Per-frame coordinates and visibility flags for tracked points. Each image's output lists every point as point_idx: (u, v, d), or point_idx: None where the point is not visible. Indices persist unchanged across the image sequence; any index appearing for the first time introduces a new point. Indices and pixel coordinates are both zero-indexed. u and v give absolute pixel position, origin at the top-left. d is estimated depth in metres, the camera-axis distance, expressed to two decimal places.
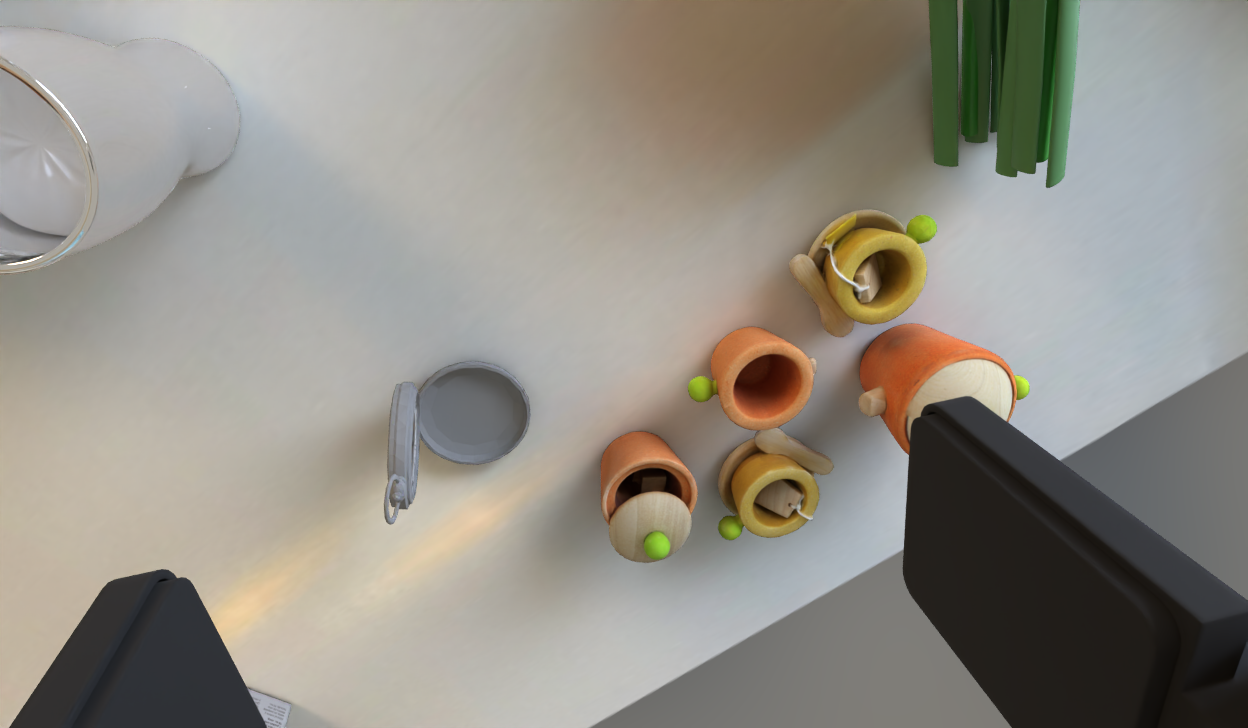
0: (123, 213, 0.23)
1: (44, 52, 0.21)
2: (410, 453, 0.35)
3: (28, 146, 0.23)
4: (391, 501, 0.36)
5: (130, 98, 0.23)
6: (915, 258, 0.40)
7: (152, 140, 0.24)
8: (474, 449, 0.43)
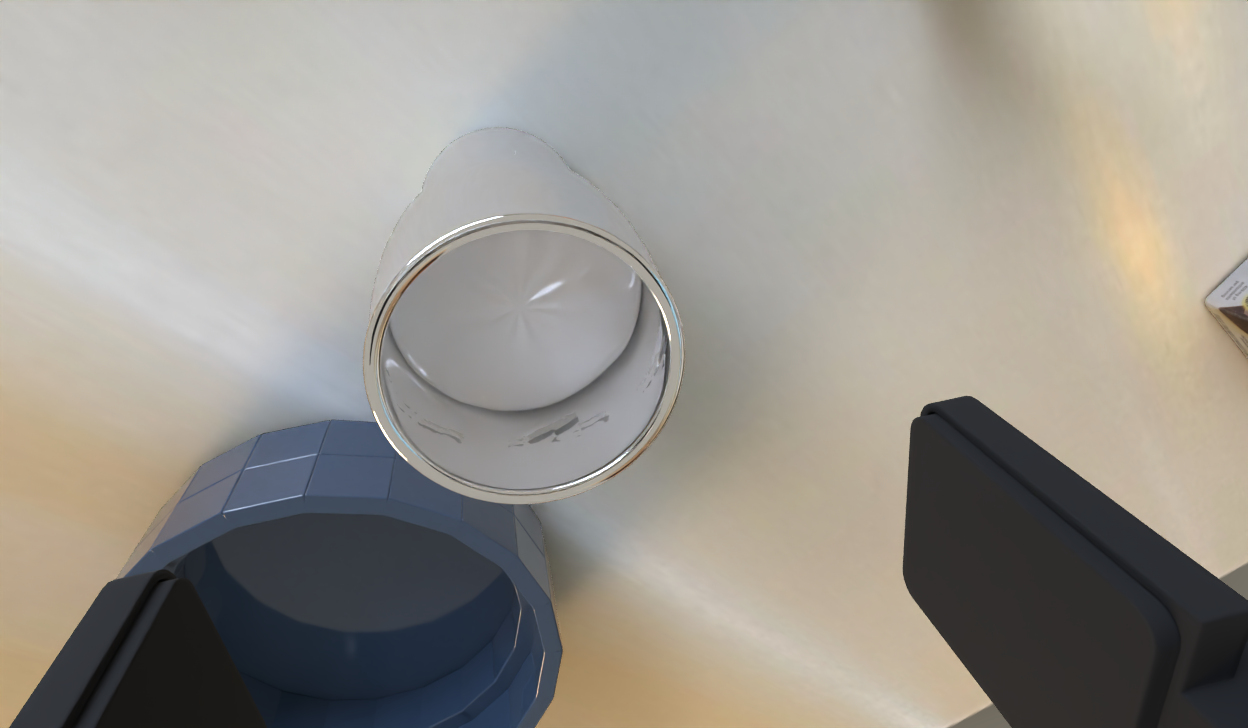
0: (608, 213, 0.16)
1: (386, 262, 0.15)
2: None
3: (525, 319, 0.18)
4: None
5: (450, 183, 0.16)
6: None
7: (508, 168, 0.16)
8: None
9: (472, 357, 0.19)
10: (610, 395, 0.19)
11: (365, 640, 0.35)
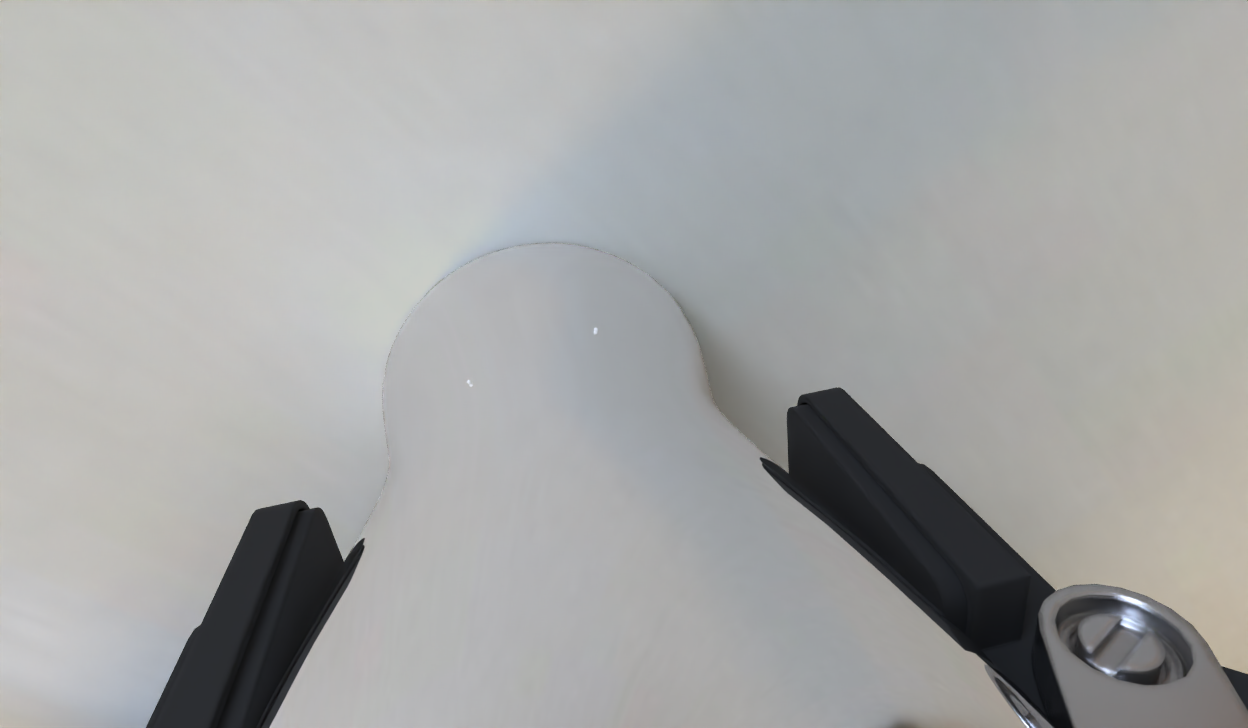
0: None
1: None
2: None
3: None
4: None
5: None
6: None
7: None
8: None
9: None
10: None
11: None
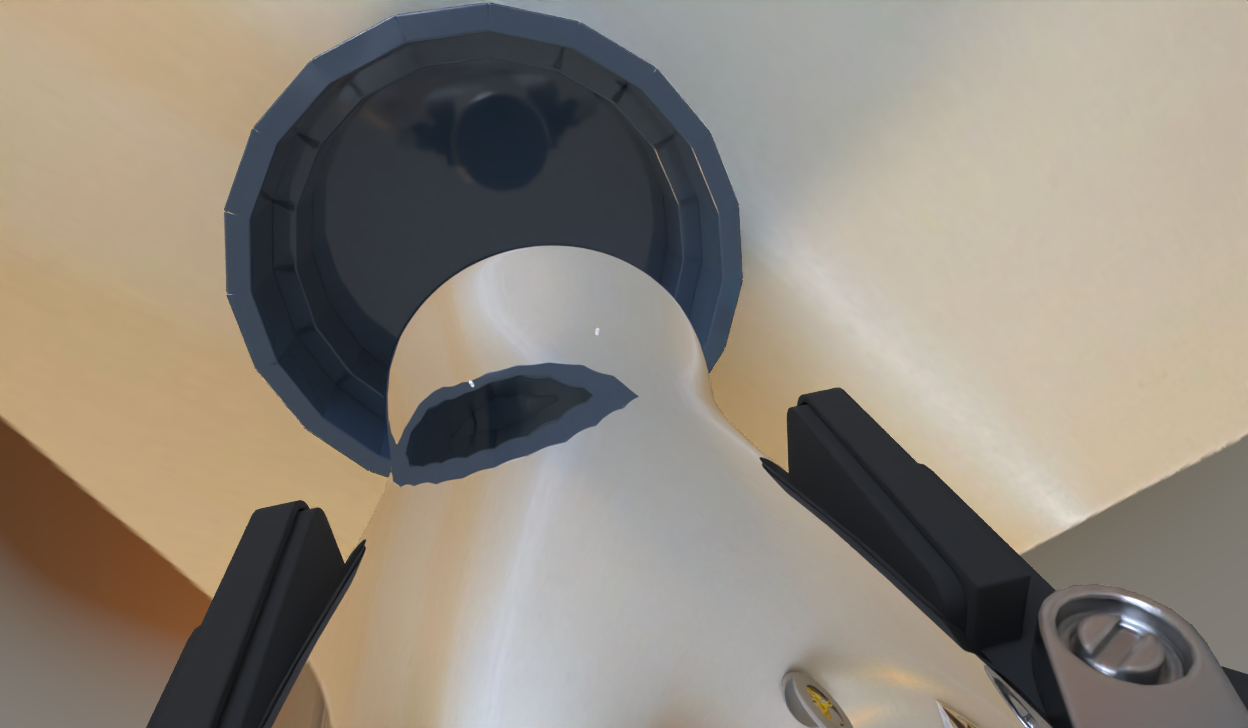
0: None
1: None
2: None
3: None
4: None
5: None
6: None
7: None
8: None
9: None
10: None
11: None
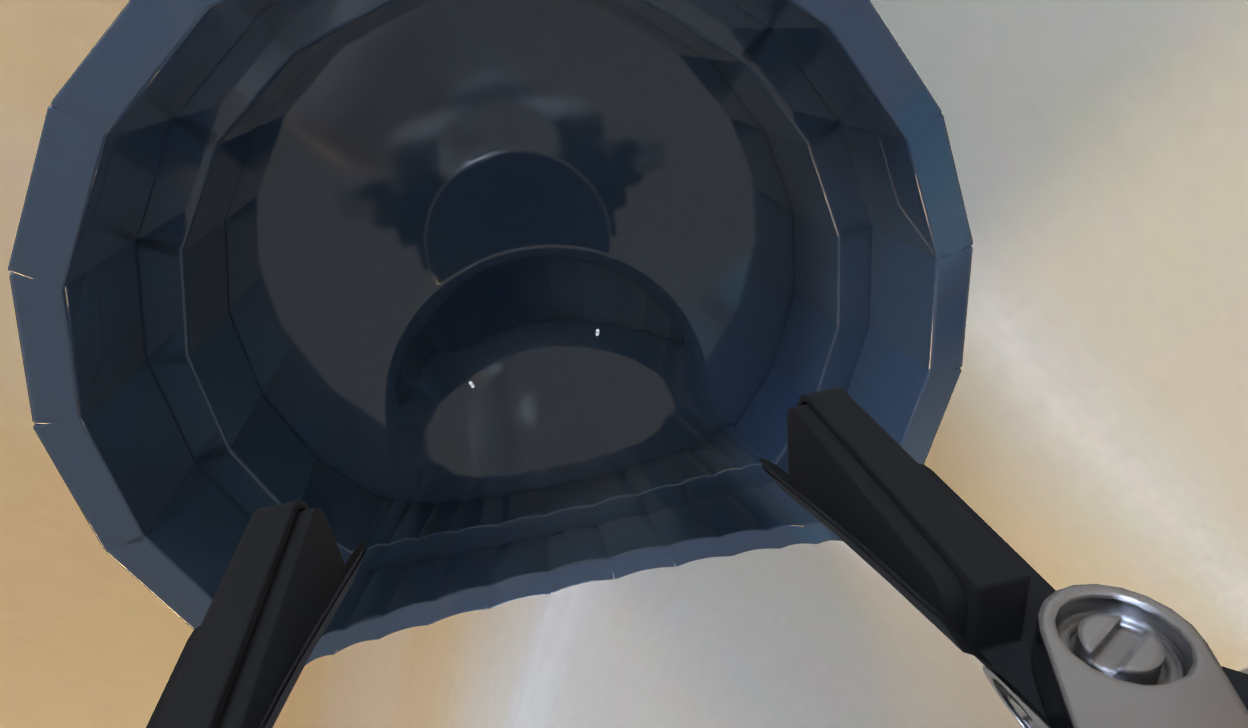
0: None
1: None
2: None
3: None
4: None
5: None
6: None
7: None
8: None
9: None
10: None
11: None
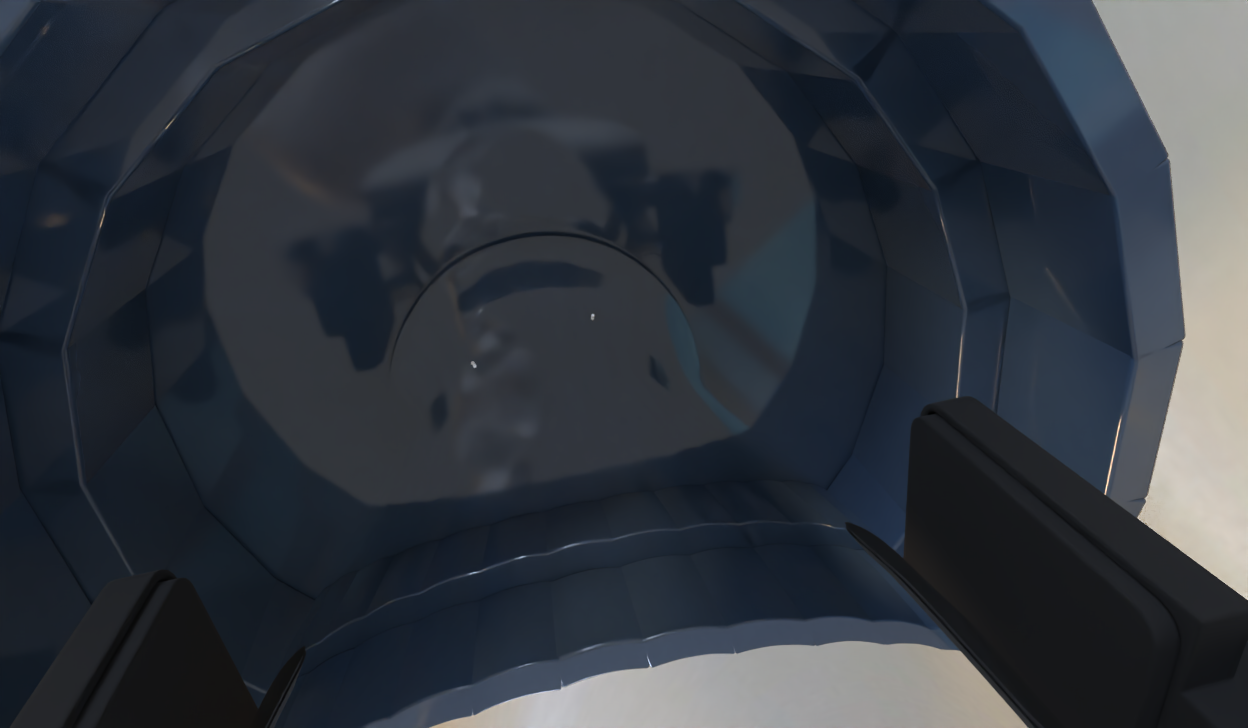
0: None
1: None
2: None
3: None
4: None
5: None
6: None
7: None
8: None
9: None
10: None
11: None
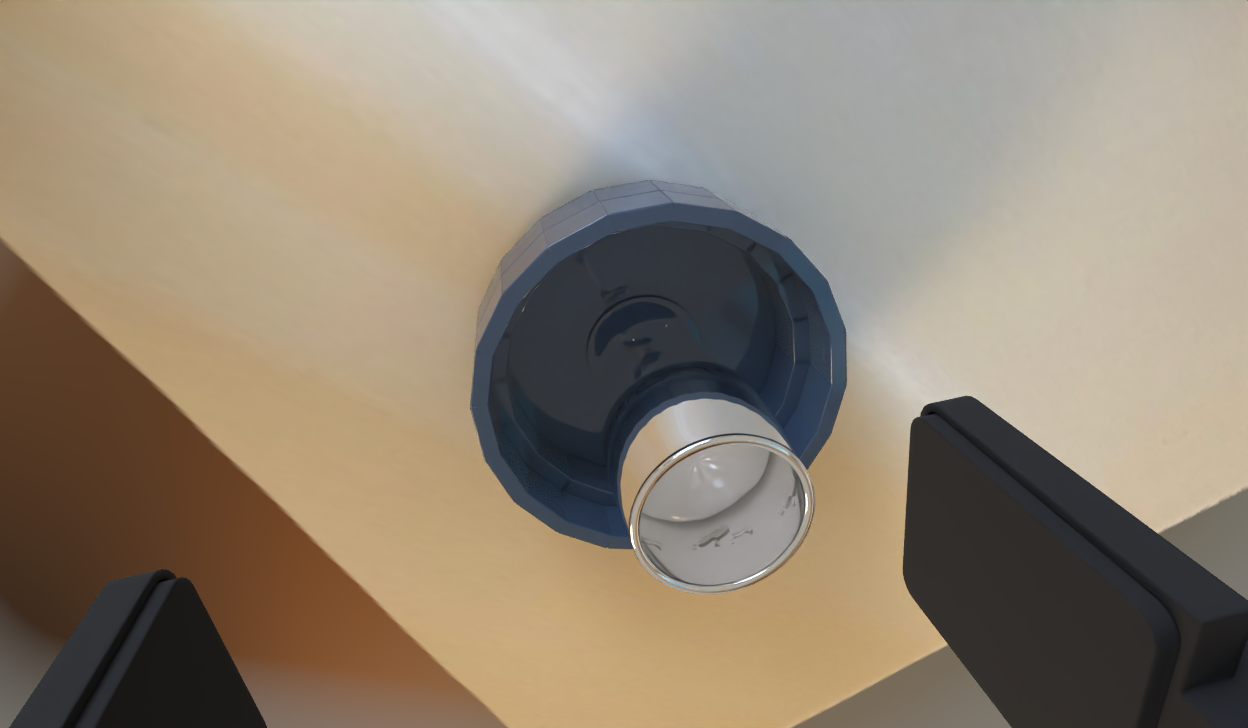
0: (765, 416, 0.25)
1: (634, 450, 0.25)
2: None
3: (698, 467, 0.28)
4: None
5: (663, 393, 0.26)
6: None
7: (698, 382, 0.26)
8: None
9: (663, 490, 0.28)
10: (751, 514, 0.29)
11: None
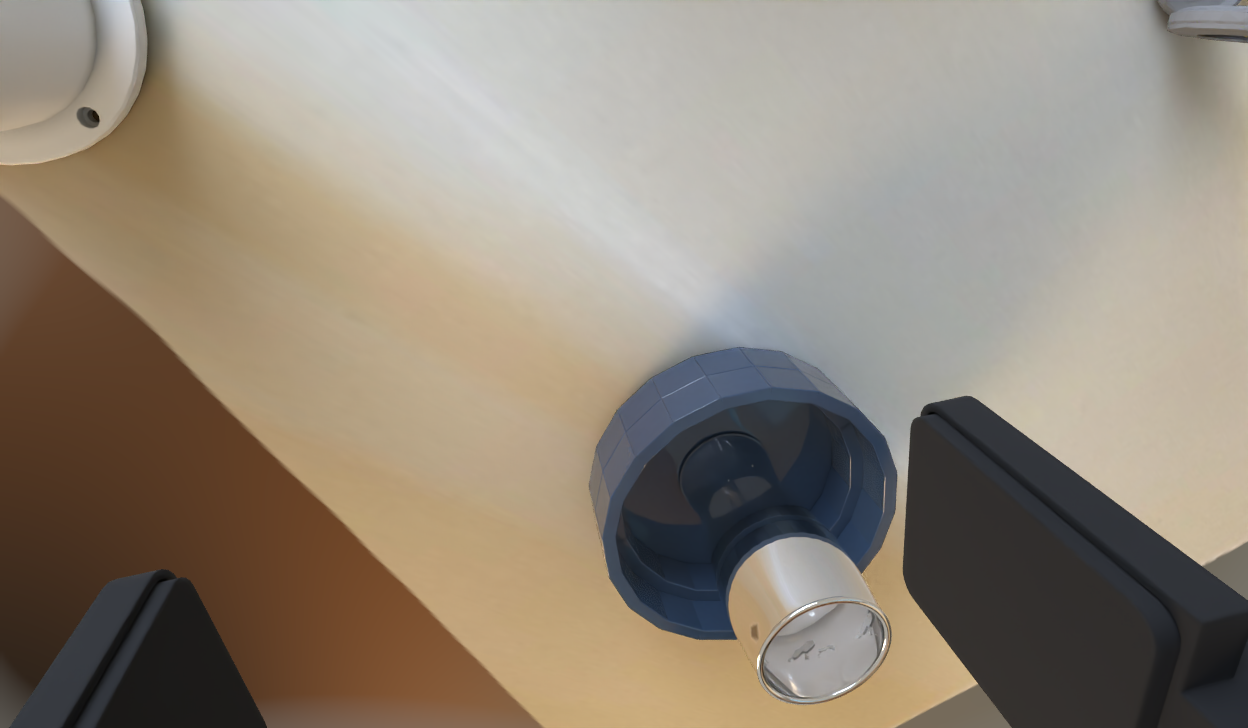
0: (853, 572, 0.34)
1: (756, 599, 0.33)
2: None
3: None
4: None
5: (774, 551, 0.34)
6: None
7: (800, 542, 0.35)
8: None
9: None
10: (831, 632, 0.37)
11: None
